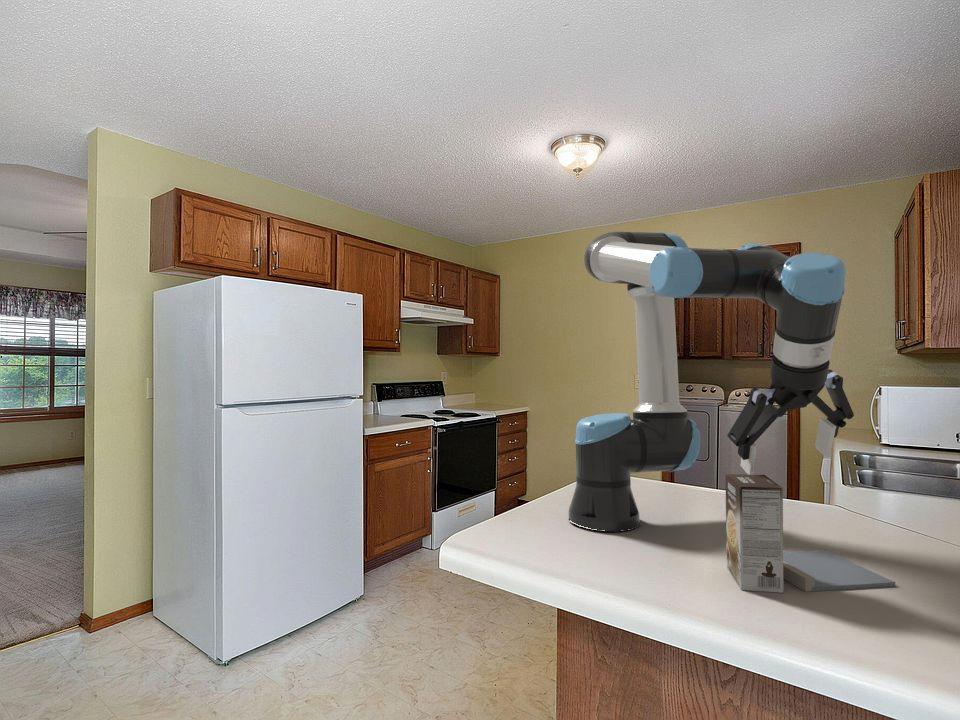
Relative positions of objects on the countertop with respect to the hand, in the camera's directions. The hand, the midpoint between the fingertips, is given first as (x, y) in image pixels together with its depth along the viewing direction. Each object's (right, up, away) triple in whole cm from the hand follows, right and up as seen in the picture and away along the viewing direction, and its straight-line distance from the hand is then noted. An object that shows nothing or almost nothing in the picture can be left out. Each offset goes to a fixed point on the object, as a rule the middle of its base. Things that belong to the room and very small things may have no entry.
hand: (784, 461), depth 90 cm
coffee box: (-9, -18, -6) cm, 21 cm away
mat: (+4, -18, -3) cm, 18 cm away
